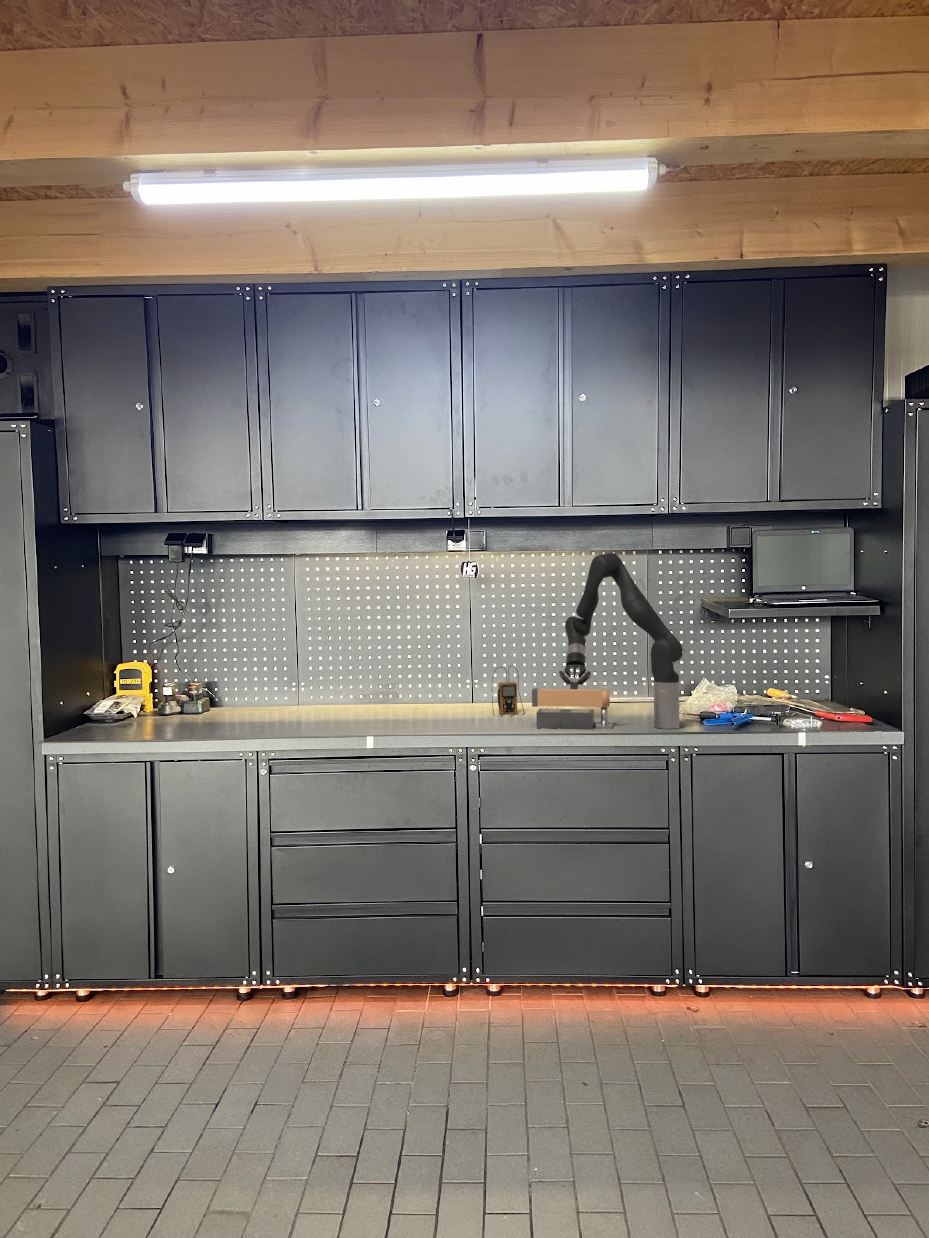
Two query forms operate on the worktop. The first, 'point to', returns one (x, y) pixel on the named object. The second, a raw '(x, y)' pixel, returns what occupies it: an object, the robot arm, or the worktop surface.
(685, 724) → the worktop surface
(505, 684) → the multimeter
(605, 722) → the hinge post
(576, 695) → the bar
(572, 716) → the dark grey brick
